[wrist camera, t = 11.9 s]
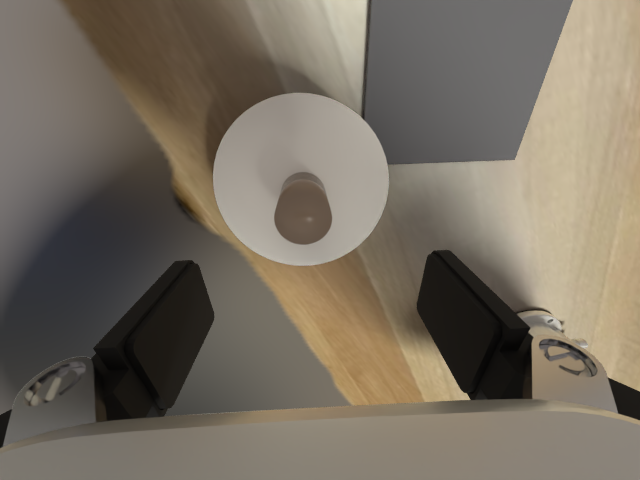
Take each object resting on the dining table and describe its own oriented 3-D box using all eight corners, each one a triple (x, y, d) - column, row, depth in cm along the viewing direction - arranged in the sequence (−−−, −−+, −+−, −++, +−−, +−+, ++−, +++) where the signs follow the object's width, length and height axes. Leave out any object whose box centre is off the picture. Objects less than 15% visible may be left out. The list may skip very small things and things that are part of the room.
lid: (394, 90, 17) (436, 80, 11) (377, 255, 23) (399, 296, 18) (195, 97, 16) (143, 90, 11) (236, 264, 23) (217, 309, 18)
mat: (593, -72, 17) (600, -77, 16) (510, 158, 25) (514, 159, 24) (374, -74, 16) (376, -79, 16) (360, 164, 24) (361, 165, 24)
